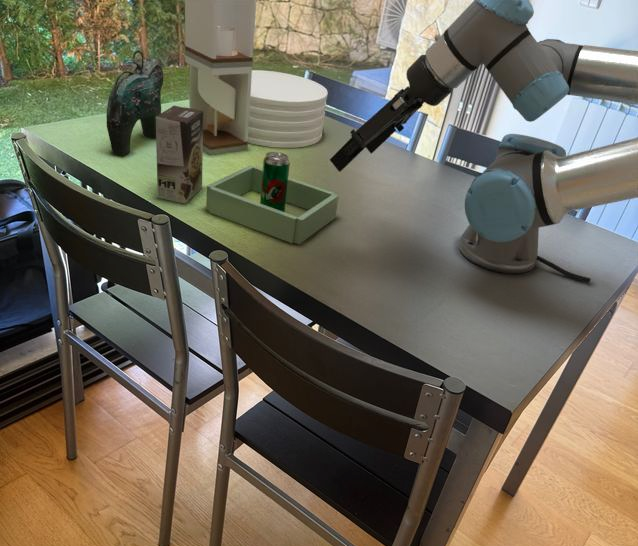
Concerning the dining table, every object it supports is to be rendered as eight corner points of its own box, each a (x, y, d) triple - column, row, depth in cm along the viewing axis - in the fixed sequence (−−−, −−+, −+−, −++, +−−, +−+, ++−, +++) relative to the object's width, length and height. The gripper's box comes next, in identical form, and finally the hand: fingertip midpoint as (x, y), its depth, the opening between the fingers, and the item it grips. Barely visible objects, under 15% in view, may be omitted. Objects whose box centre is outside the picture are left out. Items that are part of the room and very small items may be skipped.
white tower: (185, 138, 149) (185, -26, 127) (221, 134, 155) (227, -24, 134) (210, 155, 142) (214, -16, 121) (247, 149, 148) (257, -14, 127)
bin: (336, 217, 124) (340, 194, 121) (297, 245, 112) (300, 221, 109) (249, 186, 131) (251, 164, 128) (204, 210, 119) (204, 186, 116)
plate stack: (320, 154, 153) (327, 107, 146) (210, 138, 151) (211, 91, 144) (322, 121, 175) (328, 79, 168) (226, 107, 173) (228, 64, 166)
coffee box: (187, 204, 120) (187, 122, 110) (156, 198, 120) (153, 115, 110) (203, 188, 127) (204, 110, 117) (174, 182, 127) (173, 103, 118)
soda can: (289, 215, 122) (295, 158, 114) (271, 221, 119) (276, 162, 111) (272, 206, 124) (277, 149, 117) (254, 211, 121) (258, 153, 114)
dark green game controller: (147, 129, 150) (144, 42, 138) (171, 135, 149) (170, 48, 137) (103, 153, 134) (95, 57, 122) (129, 160, 133) (124, 63, 121)
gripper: (448, 44, 105) (367, 126, 119) (395, 61, 86) (306, 155, 100) (474, 79, 105) (390, 156, 119) (427, 103, 87) (334, 191, 101)
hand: (351, 156), depth 110 cm, fingers open, 13 cm apart
